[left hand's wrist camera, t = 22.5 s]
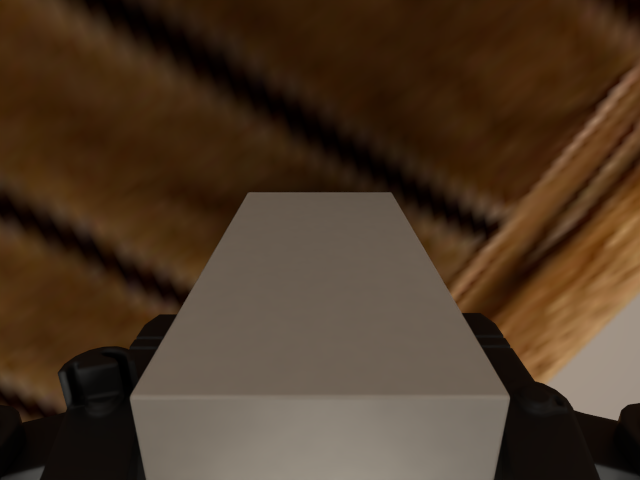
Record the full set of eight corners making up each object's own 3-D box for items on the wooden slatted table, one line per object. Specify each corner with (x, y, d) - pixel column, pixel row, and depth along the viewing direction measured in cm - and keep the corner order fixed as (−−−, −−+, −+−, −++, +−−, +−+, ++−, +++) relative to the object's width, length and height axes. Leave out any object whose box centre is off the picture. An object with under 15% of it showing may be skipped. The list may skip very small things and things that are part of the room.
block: (383, 324, 17) (462, 641, 8) (256, 324, 17) (177, 641, 8) (391, 191, 15) (512, 397, 6) (247, 191, 15) (127, 397, 6)
